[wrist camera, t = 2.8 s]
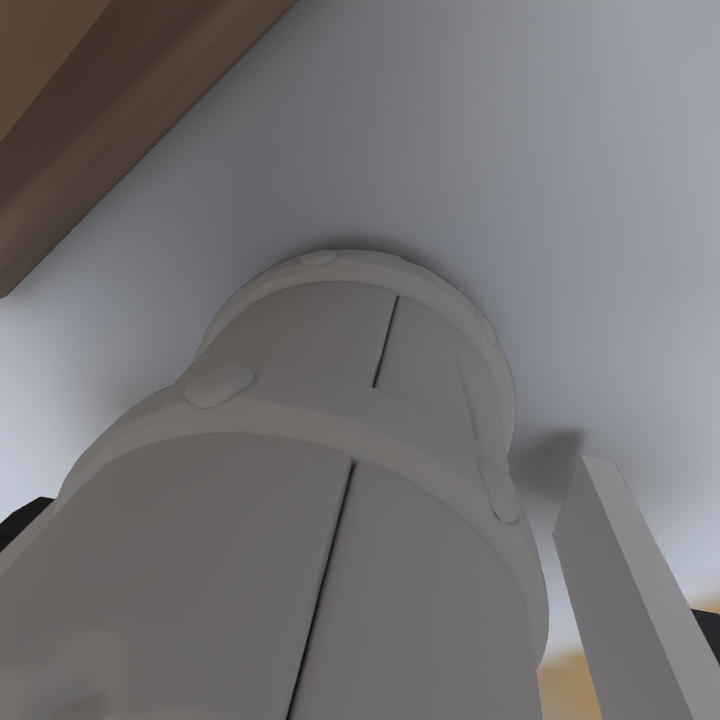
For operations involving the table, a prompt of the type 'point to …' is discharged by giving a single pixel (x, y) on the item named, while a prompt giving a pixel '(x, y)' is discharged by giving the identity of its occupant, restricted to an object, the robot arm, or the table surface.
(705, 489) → the table surface
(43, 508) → the robot arm
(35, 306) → the table surface
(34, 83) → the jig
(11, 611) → the mug
